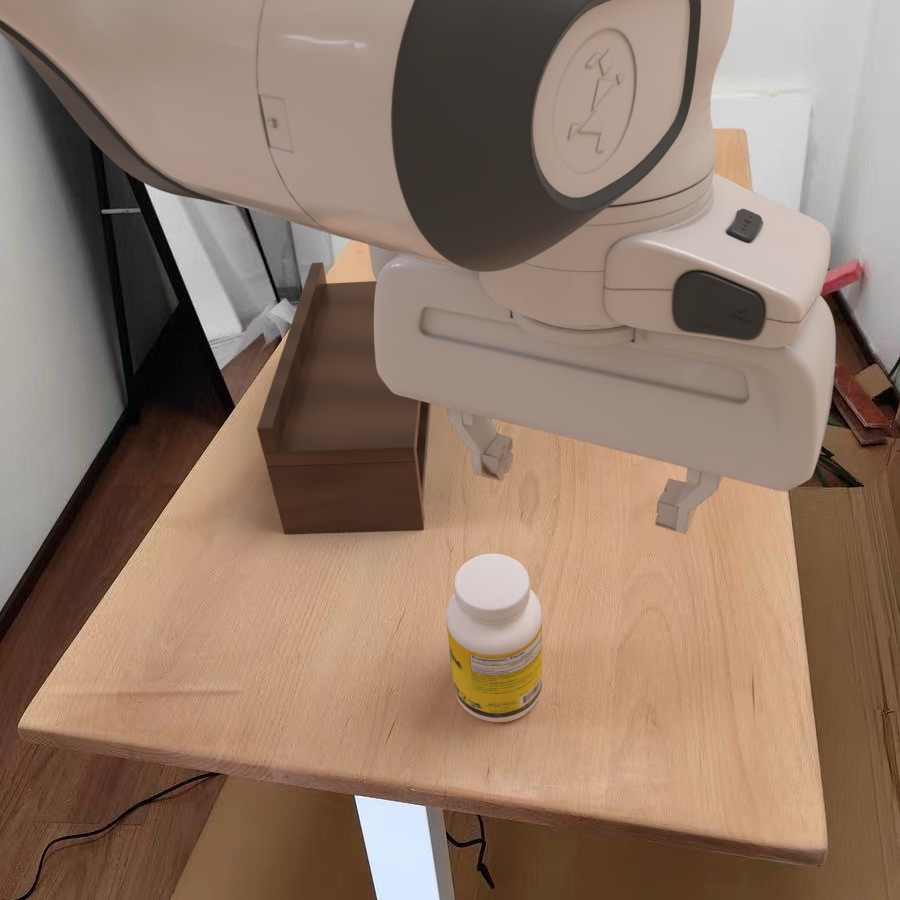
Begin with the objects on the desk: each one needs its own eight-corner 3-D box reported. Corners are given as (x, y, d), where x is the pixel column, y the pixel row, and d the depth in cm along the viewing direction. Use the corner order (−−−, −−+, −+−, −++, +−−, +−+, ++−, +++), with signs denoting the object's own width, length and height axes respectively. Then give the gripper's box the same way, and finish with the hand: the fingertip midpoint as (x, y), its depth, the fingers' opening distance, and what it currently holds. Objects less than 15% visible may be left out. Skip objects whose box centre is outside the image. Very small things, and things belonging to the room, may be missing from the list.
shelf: (423, 529, 73) (410, 422, 66) (284, 534, 74) (256, 428, 67) (436, 351, 95) (428, 256, 88) (328, 356, 96) (311, 262, 89)
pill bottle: (457, 650, 63) (447, 542, 56) (543, 653, 62) (543, 544, 55) (449, 724, 58) (436, 616, 51) (541, 728, 57) (541, 620, 51)
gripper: (324, 228, 36) (367, 480, 44) (851, 317, 28) (779, 604, 36) (400, 173, 40) (426, 412, 49) (877, 236, 32) (806, 510, 41)
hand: (580, 495), depth 42 cm, fingers open, 8 cm apart
